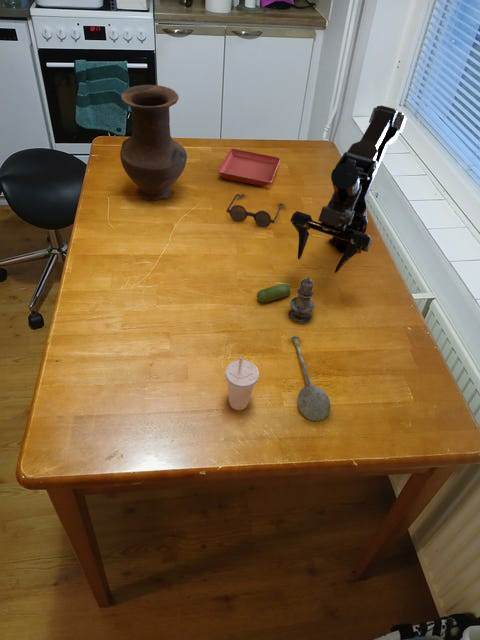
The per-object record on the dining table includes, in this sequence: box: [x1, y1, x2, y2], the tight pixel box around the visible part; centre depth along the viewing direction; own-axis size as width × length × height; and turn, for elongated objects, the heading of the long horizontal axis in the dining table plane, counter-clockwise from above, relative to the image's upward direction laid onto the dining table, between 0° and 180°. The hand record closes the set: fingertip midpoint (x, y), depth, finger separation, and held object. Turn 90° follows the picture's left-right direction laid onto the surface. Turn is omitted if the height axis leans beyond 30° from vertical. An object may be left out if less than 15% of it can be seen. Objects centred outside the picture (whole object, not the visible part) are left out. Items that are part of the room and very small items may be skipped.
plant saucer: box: [217, 148, 281, 187], centre depth 164 cm, size 18×18×3 cm
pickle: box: [256, 283, 292, 303], centre depth 121 cm, size 9×3×3 cm, turn 116°
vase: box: [119, 84, 188, 202], centre depth 141 cm, size 19×19×30 cm
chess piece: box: [288, 276, 316, 324], centre depth 114 cm, size 6×6×12 cm
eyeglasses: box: [226, 193, 284, 228], centre depth 147 cm, size 15×15×5 cm
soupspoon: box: [291, 335, 331, 423], centre depth 104 cm, size 22×3×7 cm
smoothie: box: [224, 356, 260, 411], centre depth 94 cm, size 6×6×14 cm
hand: (316, 265), depth 113 cm, fingers open, 9 cm apart
